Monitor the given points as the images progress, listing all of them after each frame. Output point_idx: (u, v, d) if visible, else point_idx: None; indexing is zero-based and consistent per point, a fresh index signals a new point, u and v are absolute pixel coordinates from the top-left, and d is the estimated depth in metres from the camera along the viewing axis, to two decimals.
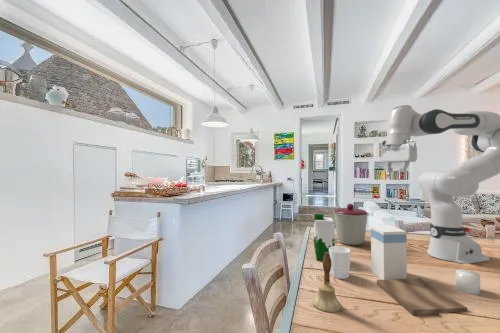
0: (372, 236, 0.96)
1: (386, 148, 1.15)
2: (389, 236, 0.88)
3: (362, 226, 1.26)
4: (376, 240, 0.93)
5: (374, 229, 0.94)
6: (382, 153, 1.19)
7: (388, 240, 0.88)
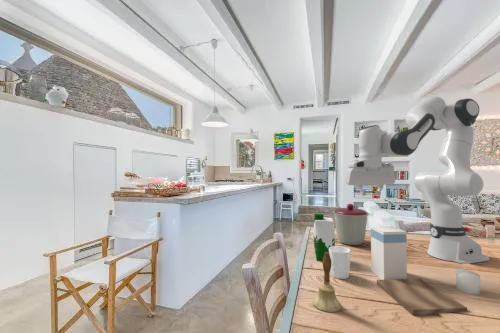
0: (372, 236, 0.96)
1: (361, 170, 1.02)
2: (389, 236, 0.88)
3: (362, 226, 1.26)
4: (376, 240, 0.93)
5: (374, 229, 0.94)
6: (353, 175, 1.02)
7: (388, 240, 0.88)
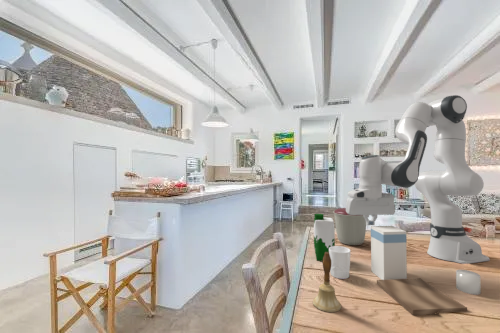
0: (372, 236, 0.96)
1: (361, 200, 1.02)
2: (389, 236, 0.88)
3: (362, 226, 1.26)
4: (376, 240, 0.93)
5: (374, 229, 0.94)
6: (353, 205, 1.02)
7: (388, 240, 0.88)
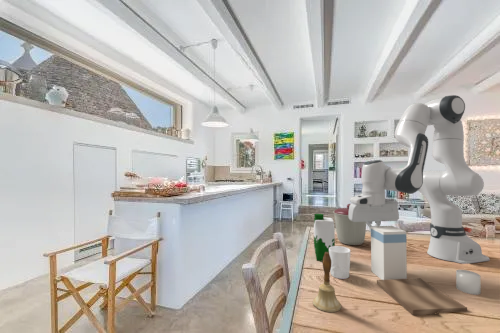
0: (372, 236, 0.96)
1: (364, 207, 1.00)
2: (389, 236, 0.88)
3: (362, 226, 1.26)
4: (376, 240, 0.93)
5: (374, 229, 0.94)
6: (356, 212, 1.00)
7: (388, 240, 0.88)
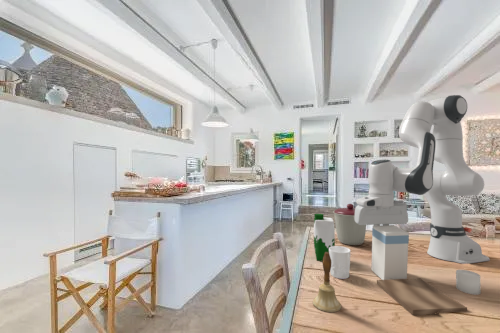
0: (373, 236, 0.95)
1: (372, 209, 0.94)
2: (391, 237, 0.87)
3: (362, 226, 1.26)
4: (378, 241, 0.92)
5: (376, 229, 0.93)
6: (363, 215, 0.94)
7: (390, 241, 0.87)
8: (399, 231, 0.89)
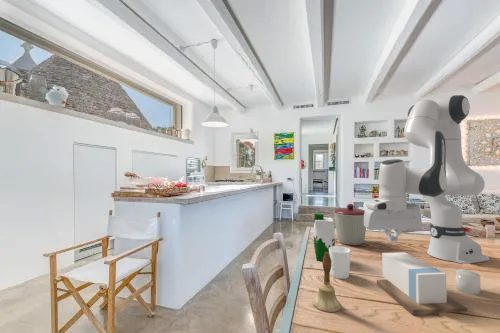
0: (409, 273, 0.75)
1: (383, 213, 0.87)
2: None
3: (362, 226, 1.26)
4: (407, 281, 0.76)
5: (416, 282, 0.72)
6: (373, 219, 0.87)
7: None
8: (438, 298, 0.72)
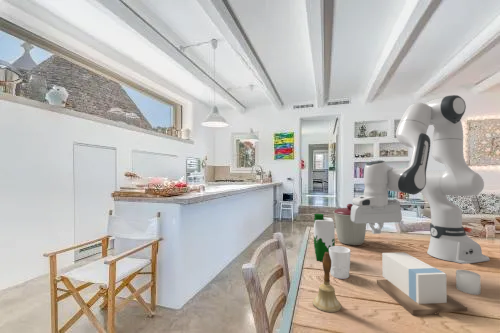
0: (409, 273, 0.75)
1: (367, 208, 0.98)
2: None
3: (362, 226, 1.26)
4: (407, 281, 0.76)
5: (416, 282, 0.72)
6: (358, 213, 0.98)
7: None
8: (438, 298, 0.72)
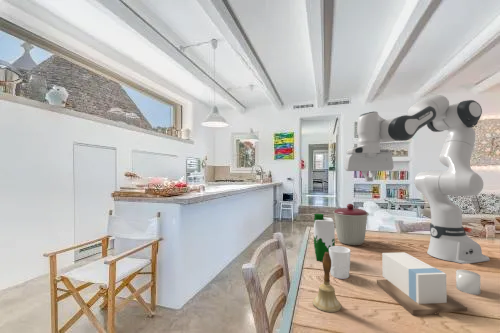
0: (409, 273, 0.75)
1: (360, 156, 1.03)
2: None
3: (362, 226, 1.26)
4: (407, 281, 0.76)
5: (416, 282, 0.72)
6: (352, 161, 1.03)
7: None
8: (438, 298, 0.72)
